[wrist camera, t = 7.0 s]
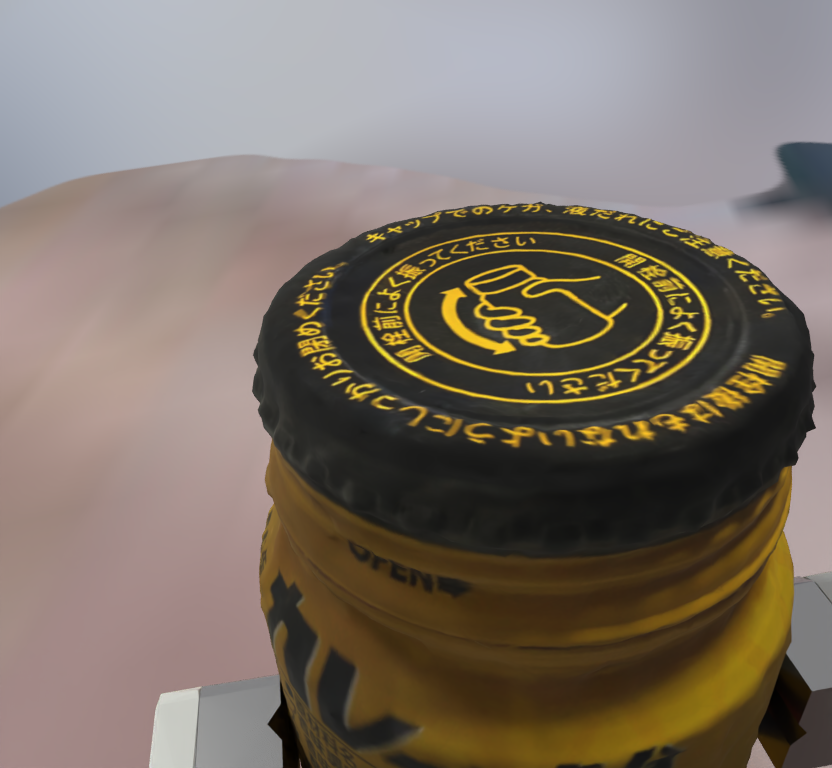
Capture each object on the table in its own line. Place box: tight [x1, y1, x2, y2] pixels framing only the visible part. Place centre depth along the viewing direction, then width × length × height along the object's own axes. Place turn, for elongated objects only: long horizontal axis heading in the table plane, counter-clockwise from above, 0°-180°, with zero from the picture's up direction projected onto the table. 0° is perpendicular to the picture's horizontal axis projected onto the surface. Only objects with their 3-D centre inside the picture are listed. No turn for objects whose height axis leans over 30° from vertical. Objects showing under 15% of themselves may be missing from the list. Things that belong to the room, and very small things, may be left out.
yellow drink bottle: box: [252, 202, 816, 768], centre depth 10 cm, size 7×8×12 cm
